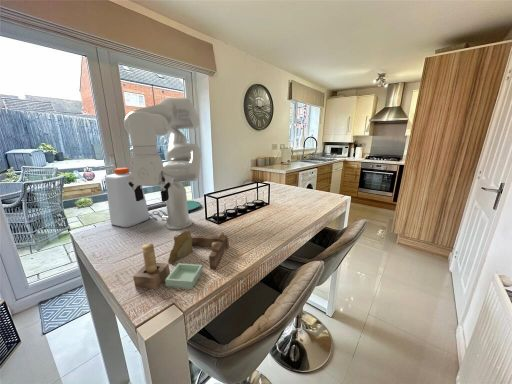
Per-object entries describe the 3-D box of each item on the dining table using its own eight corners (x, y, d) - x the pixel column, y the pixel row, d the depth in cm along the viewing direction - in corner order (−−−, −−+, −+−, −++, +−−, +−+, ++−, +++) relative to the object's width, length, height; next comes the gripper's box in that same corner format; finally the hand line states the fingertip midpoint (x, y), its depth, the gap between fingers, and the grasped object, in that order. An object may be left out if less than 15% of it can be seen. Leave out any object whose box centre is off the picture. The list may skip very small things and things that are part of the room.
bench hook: (155, 265, 73) (152, 246, 71) (177, 243, 88) (175, 226, 86) (217, 269, 70) (215, 249, 68) (228, 246, 85) (228, 229, 83)
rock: (170, 264, 70) (198, 250, 75) (160, 240, 71) (189, 229, 76) (168, 267, 78) (194, 255, 84) (160, 246, 80) (186, 235, 85)
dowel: (145, 283, 64) (139, 248, 61) (151, 277, 67) (146, 243, 64) (155, 284, 63) (149, 248, 60) (160, 278, 66) (155, 243, 63)
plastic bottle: (126, 229, 102) (115, 171, 94) (107, 224, 108) (95, 169, 100) (153, 218, 115) (145, 167, 107) (134, 214, 121) (126, 165, 114)
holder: (135, 287, 62) (133, 276, 61) (149, 272, 69) (148, 262, 68) (157, 289, 61) (155, 277, 60) (170, 274, 68) (168, 263, 67)
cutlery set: (207, 208, 129) (206, 204, 129) (156, 223, 110) (155, 219, 109) (192, 201, 144) (191, 198, 143) (144, 213, 124) (144, 210, 124)
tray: (166, 286, 62) (165, 279, 62) (179, 269, 70) (178, 263, 70) (192, 289, 61) (191, 281, 61) (203, 271, 69) (202, 264, 69)
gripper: (113, 152, 68) (122, 203, 72) (163, 152, 66) (169, 204, 70) (129, 151, 75) (137, 197, 80) (175, 150, 73) (180, 198, 77)
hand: (152, 200), depth 75 cm, fingers open, 9 cm apart
